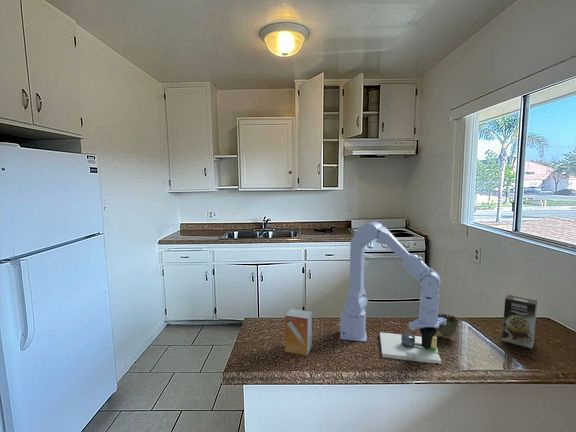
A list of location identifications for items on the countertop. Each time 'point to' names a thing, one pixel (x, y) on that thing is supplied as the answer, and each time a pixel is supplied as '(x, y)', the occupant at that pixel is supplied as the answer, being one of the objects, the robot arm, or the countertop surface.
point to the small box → (298, 331)
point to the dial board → (406, 349)
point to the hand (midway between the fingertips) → (426, 347)
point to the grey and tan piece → (409, 341)
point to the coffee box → (519, 321)
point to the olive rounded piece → (447, 326)
